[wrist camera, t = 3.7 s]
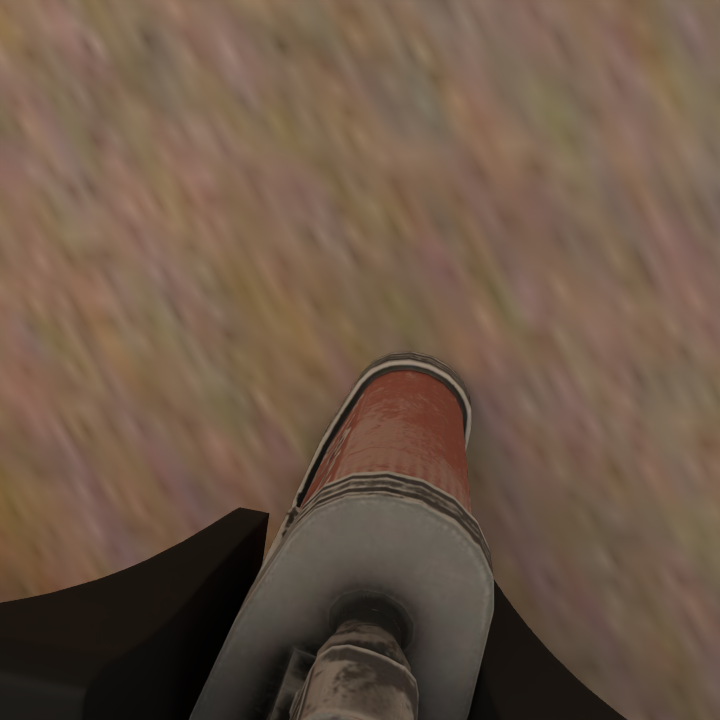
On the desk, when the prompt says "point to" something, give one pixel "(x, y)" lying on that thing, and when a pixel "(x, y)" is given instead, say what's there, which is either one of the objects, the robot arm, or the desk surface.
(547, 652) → the robot arm
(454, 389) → the lighter
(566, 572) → the desk surface
